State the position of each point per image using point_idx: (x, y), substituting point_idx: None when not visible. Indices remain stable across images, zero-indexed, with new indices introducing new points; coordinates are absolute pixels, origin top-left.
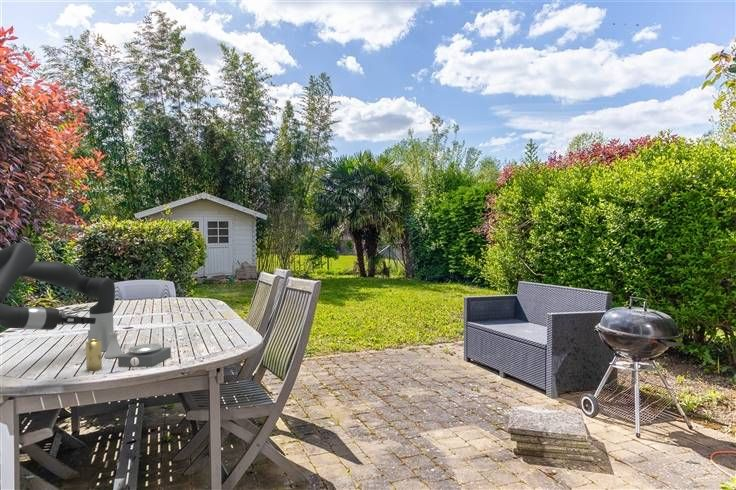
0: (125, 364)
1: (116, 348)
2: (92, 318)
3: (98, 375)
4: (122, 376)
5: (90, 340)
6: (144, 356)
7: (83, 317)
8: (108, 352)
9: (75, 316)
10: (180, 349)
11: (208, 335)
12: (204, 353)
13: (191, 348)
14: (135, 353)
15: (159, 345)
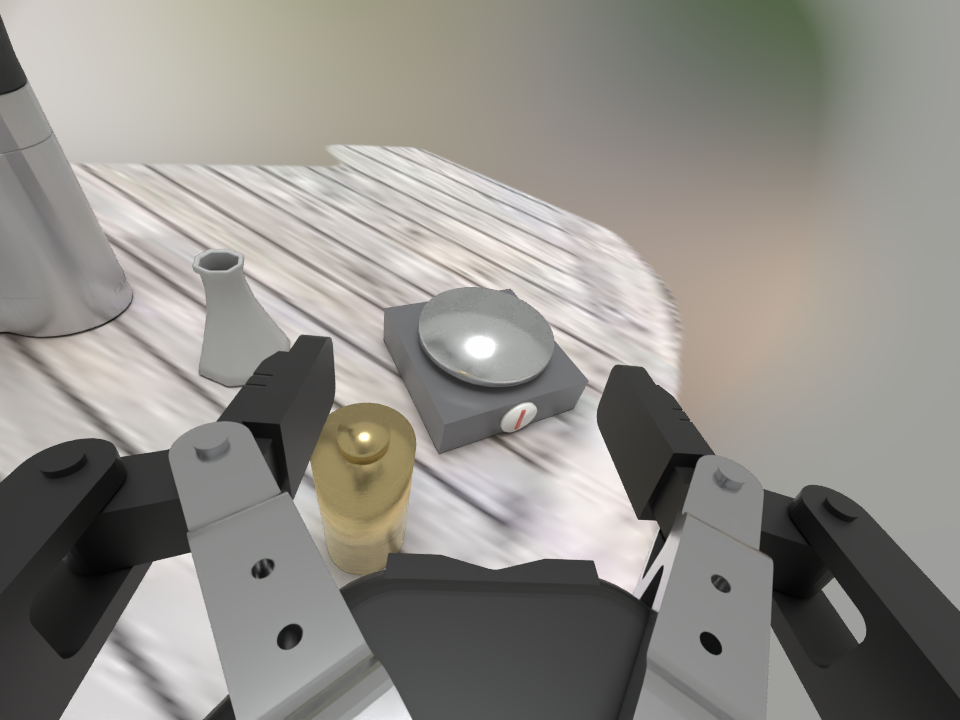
0: (473, 437)
1: (267, 330)
2: (653, 393)
3: None
4: (623, 546)
5: (364, 457)
6: (561, 389)
7: (890, 545)
8: (237, 360)
9: (752, 593)
10: (443, 261)
11: (380, 171)
12: (561, 279)
13: (467, 251)
14: None
15: (516, 301)
